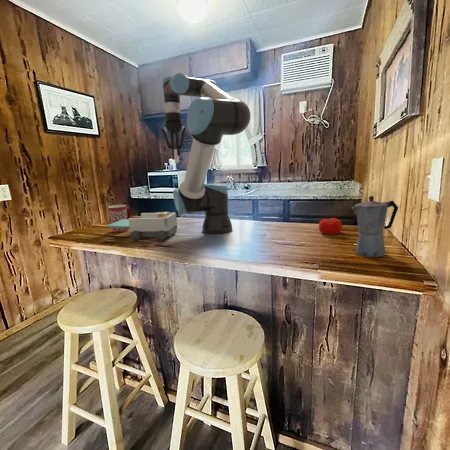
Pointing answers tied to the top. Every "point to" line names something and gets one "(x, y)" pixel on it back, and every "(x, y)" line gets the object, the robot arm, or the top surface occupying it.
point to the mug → (119, 215)
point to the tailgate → (120, 224)
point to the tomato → (330, 226)
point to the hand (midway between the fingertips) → (177, 162)
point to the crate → (161, 214)
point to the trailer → (152, 226)
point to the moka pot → (372, 226)
